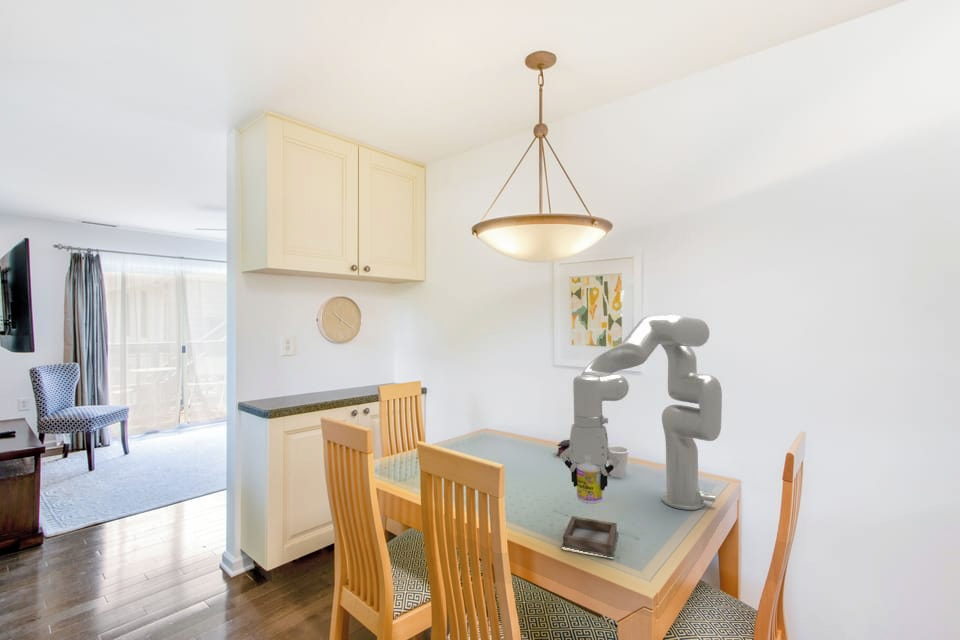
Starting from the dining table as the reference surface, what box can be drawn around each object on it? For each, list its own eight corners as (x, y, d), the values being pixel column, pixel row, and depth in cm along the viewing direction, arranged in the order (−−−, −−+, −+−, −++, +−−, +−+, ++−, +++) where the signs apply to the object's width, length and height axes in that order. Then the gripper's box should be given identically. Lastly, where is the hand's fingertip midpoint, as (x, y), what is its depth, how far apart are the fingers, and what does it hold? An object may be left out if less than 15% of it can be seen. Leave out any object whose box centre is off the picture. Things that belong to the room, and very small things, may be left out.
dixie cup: (625, 480, 161) (625, 453, 161) (603, 476, 166) (603, 450, 166) (631, 473, 168) (631, 447, 168) (610, 469, 173) (609, 444, 173)
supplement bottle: (572, 500, 118) (571, 453, 118) (585, 492, 123) (584, 447, 123) (594, 507, 113) (593, 458, 113) (606, 499, 118) (606, 452, 118)
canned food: (559, 468, 190) (548, 446, 192) (569, 459, 198) (558, 439, 200) (580, 460, 183) (568, 438, 185) (589, 451, 191) (578, 431, 193)
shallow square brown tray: (618, 535, 122) (618, 522, 122) (613, 560, 110) (613, 546, 110) (571, 527, 127) (570, 515, 127) (561, 550, 115) (561, 536, 115)
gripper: (622, 420, 118) (624, 486, 118) (559, 416, 125) (560, 478, 125) (620, 427, 111) (621, 496, 111) (553, 422, 118) (554, 487, 118)
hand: (589, 486), depth 118 cm, fingers closed on supplement bottle, 6 cm apart
